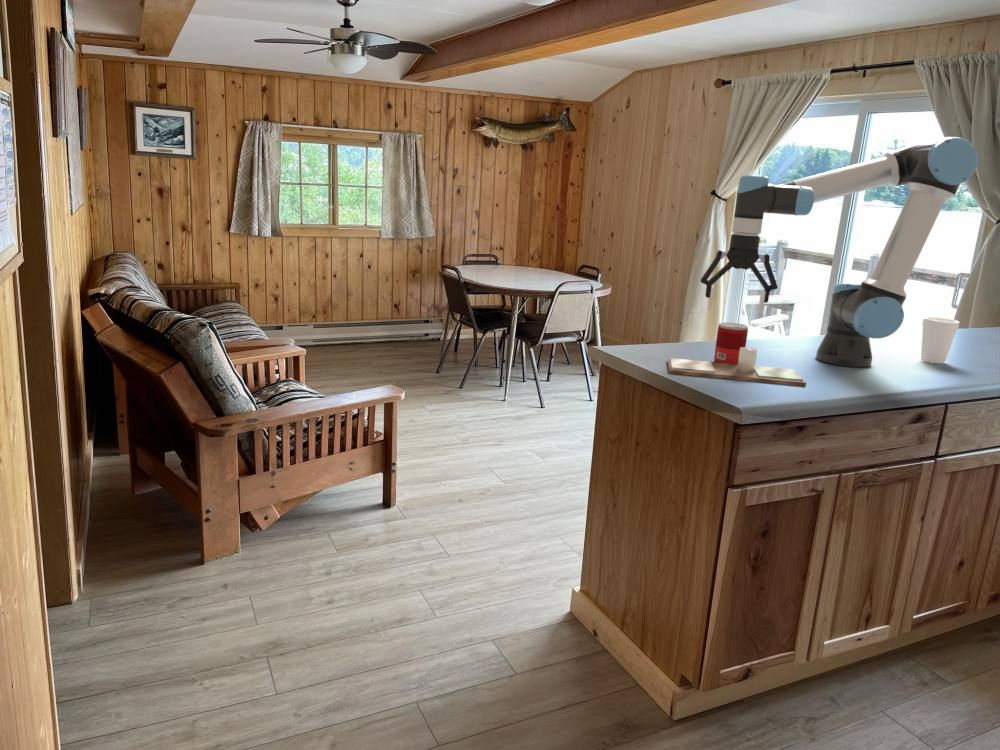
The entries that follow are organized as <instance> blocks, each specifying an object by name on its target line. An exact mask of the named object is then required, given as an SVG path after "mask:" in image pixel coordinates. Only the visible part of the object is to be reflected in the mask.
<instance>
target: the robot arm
mask: <svg viewBox="0 0 1000 750" xmlns="http://www.w3.org/2000/svg"><path fill="white" fill-rule="evenodd" d="M978 163H979V157H978V152H977V150H976V148H975V146H974V145H973V143H972V142H971V141H969V140H967V138H966V139H965V138H962V137H958V136H944V137H940V138H929V139H924V140H921V141H918V142H916V143H915V142H914V143H913V144H909V145H907V146H904V147H902V148H899V149H895V150H891V151H887V152H886V153H885V154H884V155H883V157H879V158H876V159H872V160H868V161H865V162H859V163H856V164H852V165H849V166H846V167H841V168H840V167H839V168H836V169H833V170H830V171H826V172H822V173H817V174H814V175H809V176H805V177H803V178H797V179H794V180H791V181H787V182H786V181H785V182H782V183H780V184H778V183H777V184H774V183H773V184H772V183H770V178H769V177H768V176H767V175H766V176H765V175H755V174H754V175H752V174H750V175H749V174H744V175H742V176H741V177H740V178H739V182H738V187H737V191H736V198H735V199H736V200H735V207H734V208H735V209H734V213H733V214H734V215H733V221H732V226H731V227H732V228H731V231H732V234H731V235H730V240H729V241H730V242H729V247H728V251H723V250H720V249H718V250H716V254H715V258H714V259H713V260H712V262H711V264H709V266H708V268H707V269H706V271H705V272H704V274H703V275H702V277H701V278H700V282H701V284H704V285H706V286H705V294H704V295H705V297H706V298H708V303H707V310H708V311H712V306H713V299H714V294H715V293H714V292H715V286H714V284H715V283H716V282H717V281H718V280H719V279H721V278H722V277H723V276H724V275H725V274H726V273H727V272H728V271H729V270H731V269H732V268H733V269H737V270H740V269H742V270H749V269H750V270H751V272H752V273H753V274H754V275H755V277H756V278H757V279H758V281H759V284H760V285H761V286H762V287H763V289H761V290H760V296H759V302H758V309H757V314H758V315H760V316H763V309H764V306H765V305H764V304H765V303H768V302H769V299H770V294H771V291H774V290H777V289H778V288H779V286H778V284H777V281H776V279H775V276H774V275H775V274H774V273H773V270H772V267H771V264H770V257H771V256H770V255H769V254H768V253H764V254H759V247H760V240H761V237H760V236H759V235H760V234H761V233H762V227H763V220H764V214H776V215H787V216H795V217H796V216H807V215H809V214H810V212H812V209H813V206H814V204H815V203H819V202H824V201H827V200H831V199H836V198H841V197H842V196H843V197H844V196H847V195H852V194H855V193H856V194H857V193H860V192H864V191H867V190H872V189H875V188H879V187H884V186H889V187H891V188H895V187H898V186H905V185H907V187H908V189H909V193H908V196H907V198H906V200H905V202H904V204H903V207H902V209H901V211H900V212H899V215H898V217H897V220H896V222H895V224H894V226H893V228H892V231H891V232H890V235H889V237H888V239H887V241H886V244H885V246H884V248H883V250H882V252H881V255H880V257H879V258H878V261H877V263H876V265H875V268H874V270H873V272H872V275H871V276H870V277H869V278H867V279H865V280H862V282H861V284H860V283H837V284H836V285H835V286H834V289H833V291H832V294H831V302H830V303H831V304H830V308H829V309H830V310H829V314H828V321H827V327H826V333H825V334H824V337H823V339H822V340H821V343H820V344H819V346H818V348H817V350H816V354H815V359H817V360H819V361H820V362H823V363H827V364H830V365H834V366H842V367H851V368H853V367H854V368H867V366H868V367H871V366H872V362H873V353H872V348H871V341H870V339H877V340H878V339H884V338H887V337H890V336H891V335H893V334H895V333H896V332H897V331H898V329H899V328H900V327H901V326H902V324H903V322H904V317H905V312H904V308H903V304H904V303H905V300H906V299H907V294H906V291H905V286H906V284H907V282H908V280H909V278H910V276H911V274H912V272H913V269H914V268H915V265H916V263H917V261H918V258H919V257H920V254H921V252H922V250H923V248H924V246H925V244H926V242H927V239H928V237H929V235H930V234H931V232H932V229H933V227H934V225H935V223H936V220H937V219H938V216H939V214H940V212H941V211H942V208H943V206H944V204H945V202H946V201H948V200H951V199H952V198H954V197H955V195H956V194H957V191H958V189H959V188H960V185H961V184H963V183H965V182H966V181H968V180H969V179H970V178H971V177H972V176H973V175H974V174H975V171H976V169H977V167H978ZM725 257H726V259H727V260H728V262H727V263H726V264H725V265H723V267H722V268H720V270H719V271H717V272H716V273H715V274H714V275H712V273H713V272H714V271H715V269H716V267H717V266H718V264H719V263H720V261H721V260H723V259H724V258H725ZM758 260H760V262H761V263H763V266H764V269H765V272H766V275H767V277H768V280H769V284H770V285H769V284H768V283H767V281H766V280H765V278H764V276H763V275H762V274H761V272H760V271H759V269H758V268H757V266H756V265H755V263H756V262H757V261H758ZM711 275H712V277H711V278H710V276H711ZM709 278H710V279H709Z"/></svg>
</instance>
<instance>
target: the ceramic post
mask: <svg viewBox="0 0 1000 750" xmlns="http://www.w3.org/2000/svg"><path fill="white" fill-rule="evenodd" d="M757 355H758V349H757V348H754V347H750V346H749V347H748V346H746V347H741V348H740V352H739V359H738V366H737V371H740V372H744V373H754V370H755V366H756V364H757V363H756V361H757Z"/></svg>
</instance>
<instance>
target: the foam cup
mask: <svg viewBox="0 0 1000 750" xmlns="http://www.w3.org/2000/svg"><path fill="white" fill-rule="evenodd" d="M959 325H960V321H959V320H956V319H952V318H945V317H938V316H924V317H923V318H922V324H921V326H922V331H921V332H922V335H921V353H920V354H921V355H920V358H921V359H920V360H921V361H922V360H923V361H922V362H924V361H925V363H927V362H930V363H929V364H933V363H944V362H946V360H947V358H948V354H949V352H950V350H951V348H952V347H951V346H952V344H953V341H954V339H955V336H956V334H957V331H958V330H959ZM944 364H945V363H944Z"/></svg>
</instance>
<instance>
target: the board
mask: <svg viewBox="0 0 1000 750" xmlns="http://www.w3.org/2000/svg"><path fill="white" fill-rule="evenodd" d="M667 366H668V371H669V374H673V375H680V374H682V375H681V376H690V375H692V377H693V376H694V377H700V376H702V377H701V378H711V377H712V378H713V379H721V378H726V379H725V380H732V379H739V380H738V381H742V380H749V381H748V382H753V381H759V382H758V383H763V382H766V384H774V383H775V385H784V384H786V386H796V387H805V386H807V382H806V381H805V379H804V378H803V377H802V376H801V375H800V374H799V372H797V370H796V369H792V368H784V367H772V366H771V367H770V366H763V365H762V366H760V365H755V370H754V373H744V372H740V371H737V366H738V364H727V363H716V362H715V361H706V360H705V361H704V360H697V359H695V360H694V359H687V358H686V359H685V358H684V359H683V358H674V357H668V358H667Z"/></svg>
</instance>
